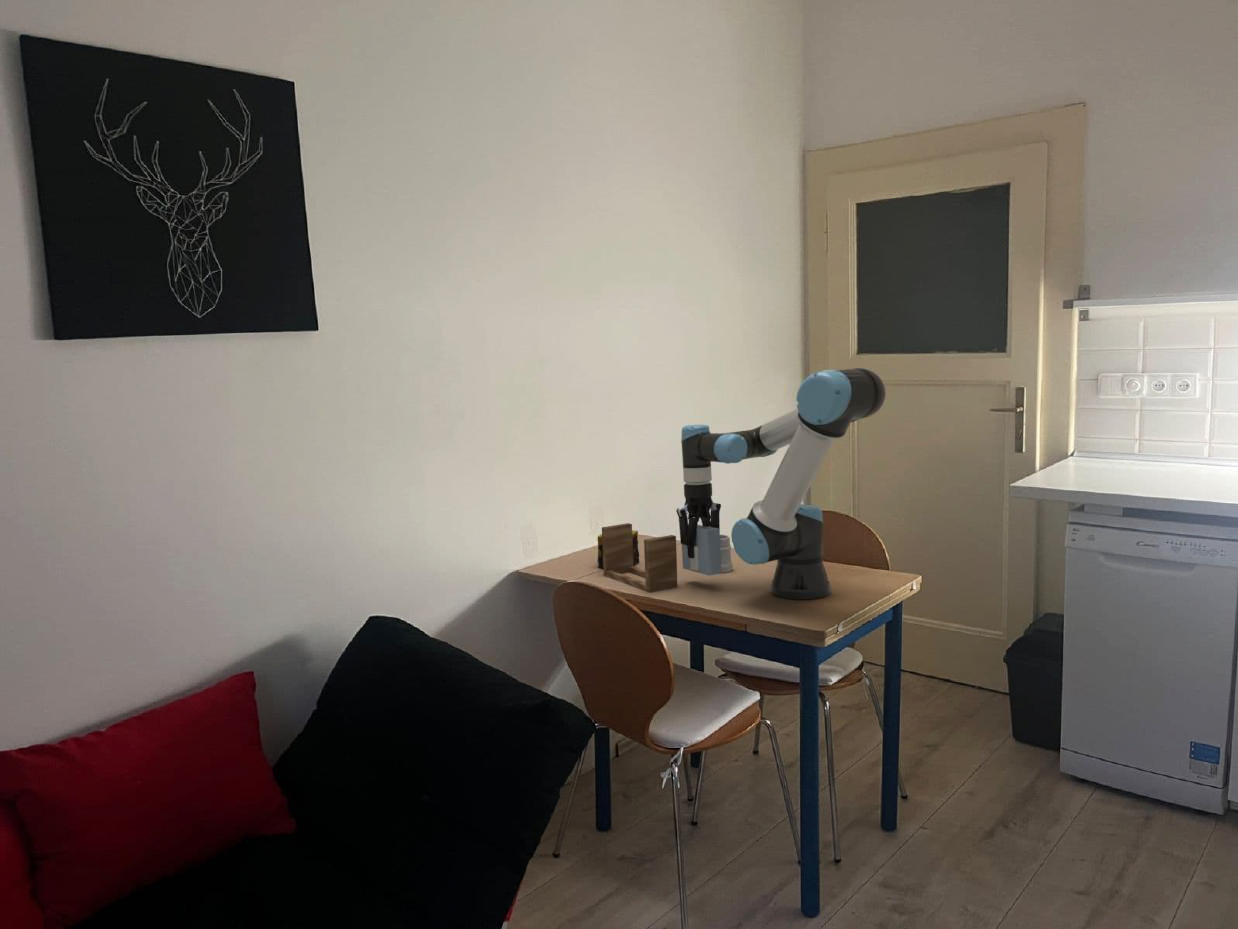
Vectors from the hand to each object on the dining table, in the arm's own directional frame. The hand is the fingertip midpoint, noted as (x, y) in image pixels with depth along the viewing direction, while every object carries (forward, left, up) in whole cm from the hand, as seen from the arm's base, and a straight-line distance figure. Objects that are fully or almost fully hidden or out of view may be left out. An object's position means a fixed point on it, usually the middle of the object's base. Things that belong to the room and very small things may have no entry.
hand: (701, 568), depth 249 cm
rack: (+16, +10, -5) cm, 19 cm away
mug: (+13, -14, -5) cm, 20 cm away
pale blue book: (0, 0, -1) cm, 1 cm away
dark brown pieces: (+35, +5, -5) cm, 35 cm away
